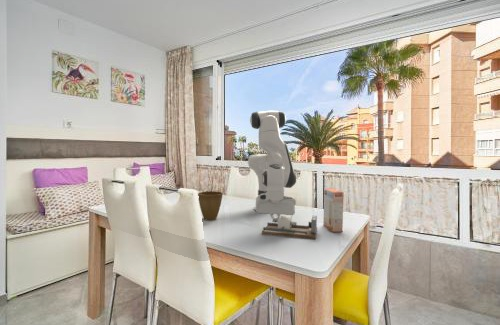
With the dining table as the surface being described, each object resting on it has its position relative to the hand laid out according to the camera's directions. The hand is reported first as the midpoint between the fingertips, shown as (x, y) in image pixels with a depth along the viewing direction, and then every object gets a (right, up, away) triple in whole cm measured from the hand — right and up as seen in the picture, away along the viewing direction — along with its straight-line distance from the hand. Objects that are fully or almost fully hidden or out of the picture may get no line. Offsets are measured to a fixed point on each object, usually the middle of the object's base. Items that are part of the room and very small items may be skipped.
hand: (275, 222), depth 142 cm
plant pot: (-37, -4, +24) cm, 45 cm away
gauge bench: (+7, -5, -2) cm, 9 cm away
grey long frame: (+7, -3, -2) cm, 8 cm away
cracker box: (+31, -5, +5) cm, 32 cm away
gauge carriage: (+6, -3, -3) cm, 7 cm away
